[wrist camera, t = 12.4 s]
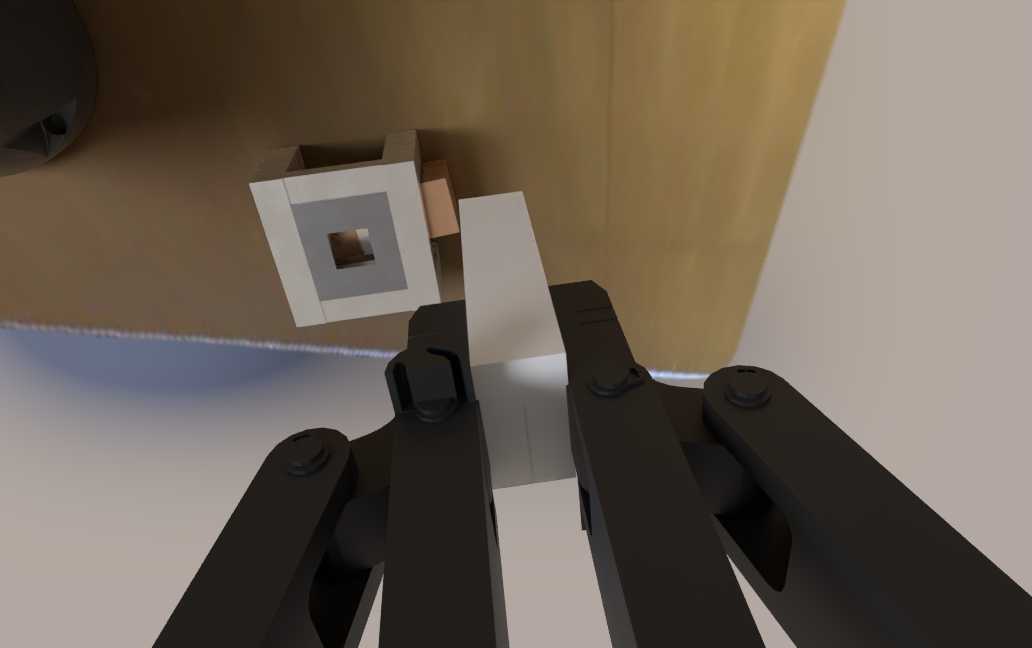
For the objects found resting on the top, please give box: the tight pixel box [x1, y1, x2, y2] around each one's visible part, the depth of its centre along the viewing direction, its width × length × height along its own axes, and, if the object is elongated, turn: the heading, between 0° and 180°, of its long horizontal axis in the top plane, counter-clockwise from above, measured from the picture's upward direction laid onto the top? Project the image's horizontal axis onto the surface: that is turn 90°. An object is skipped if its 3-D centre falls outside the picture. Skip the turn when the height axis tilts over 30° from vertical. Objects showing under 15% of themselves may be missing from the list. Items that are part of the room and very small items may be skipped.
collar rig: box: [249, 130, 442, 327], centre depth 48 cm, size 10×10×6 cm
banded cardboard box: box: [329, 158, 460, 259], centre depth 49 cm, size 12×4×4 cm, turn 101°
